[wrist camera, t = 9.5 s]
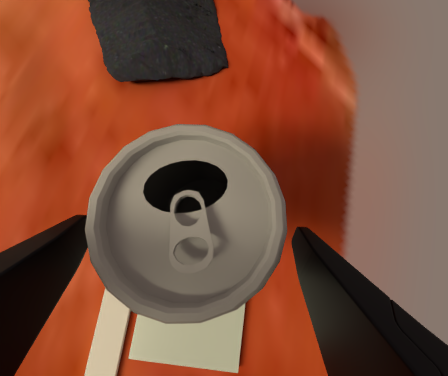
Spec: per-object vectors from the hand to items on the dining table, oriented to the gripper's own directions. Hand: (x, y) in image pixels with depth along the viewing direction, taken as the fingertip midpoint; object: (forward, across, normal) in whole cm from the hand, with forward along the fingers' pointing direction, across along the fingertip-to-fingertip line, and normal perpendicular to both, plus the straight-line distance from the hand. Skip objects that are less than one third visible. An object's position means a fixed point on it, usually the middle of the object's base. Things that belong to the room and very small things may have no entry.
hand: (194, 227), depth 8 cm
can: (+7, 0, +6) cm, 9 cm away
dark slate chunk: (+25, +8, -11) cm, 29 cm away
